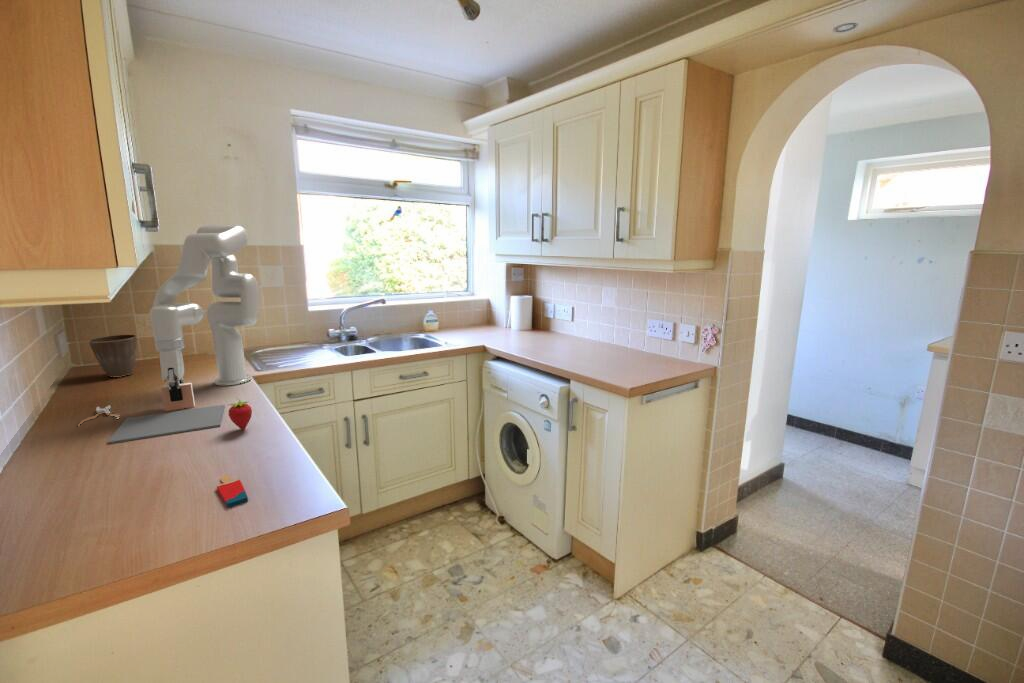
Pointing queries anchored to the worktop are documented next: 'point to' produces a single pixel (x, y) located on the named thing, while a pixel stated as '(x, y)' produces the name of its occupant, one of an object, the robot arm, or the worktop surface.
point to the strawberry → (240, 414)
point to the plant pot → (115, 353)
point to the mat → (168, 423)
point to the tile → (185, 403)
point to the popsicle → (232, 492)
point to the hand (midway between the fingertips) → (178, 397)
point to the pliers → (104, 410)
